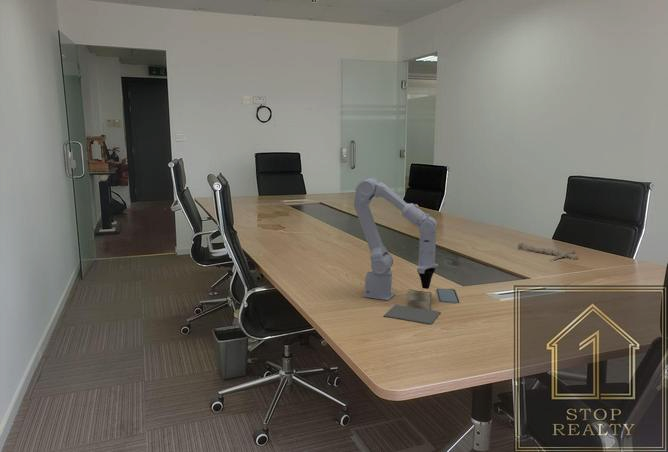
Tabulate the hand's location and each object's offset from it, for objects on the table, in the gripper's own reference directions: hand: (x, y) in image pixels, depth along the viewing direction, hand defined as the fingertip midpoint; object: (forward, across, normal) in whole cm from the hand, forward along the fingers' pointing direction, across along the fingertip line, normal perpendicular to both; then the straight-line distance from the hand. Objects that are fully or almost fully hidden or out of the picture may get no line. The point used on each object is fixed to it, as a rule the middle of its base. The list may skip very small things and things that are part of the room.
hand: (425, 288), depth 179 cm
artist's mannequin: (+6, +100, -36) cm, 107 cm away
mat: (+5, -16, 0) cm, 16 cm away
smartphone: (+6, +9, -6) cm, 12 cm away
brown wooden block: (+5, -8, 0) cm, 9 cm away
